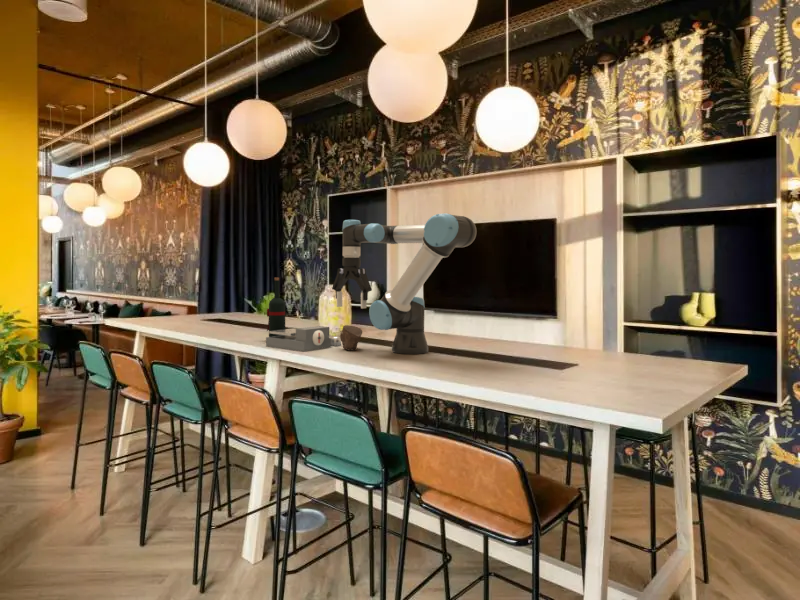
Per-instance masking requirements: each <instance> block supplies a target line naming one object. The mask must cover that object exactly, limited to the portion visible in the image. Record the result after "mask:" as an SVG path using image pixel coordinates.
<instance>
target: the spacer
mask: <svg viewBox="0 0 800 600" xmlns="http://www.w3.org/2000/svg"><path fill="white" fill-rule="evenodd" d="M330 338H331V347H341V346H342V341H341V339H340V335H335V336H334V335H331V337H330Z"/></svg>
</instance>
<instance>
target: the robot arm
mask: <svg viewBox="0 0 800 600" xmlns="http://www.w3.org/2000/svg"><path fill="white" fill-rule="evenodd" d="M341 231H342V266H343V268H342V267H341V268H337V271H336V276H335V279H334V281H333V284H332V287H331V290H333V291H335V299H336V307H337V308H341V307H343V287H344V286H346V284H347V282H348V281H349V280H354V281H355V282H356V284H357V285H358V287H359V288H360V290H361V292H360V309H362V310H363V309H367V301H368V299H369V295H368V294H369V292H371V291H372V287H371V283H370V280H369V278H368V275H367V269H366V268H360V267H361V244H362V243H366V244H367V243H369V244H370V243H376V244H390V245H396V244H397V245H398V244H422V246H421V247H420V249H419V250H418V252H417V253H416V255H415V256H414V258H413V259H412V261H410V263H409V265H408V266H407V268H406V269H405V270H404V272H403V274H402V276H401V277H400V278H399V279H398V281H397V282H396V284H395V286H394V287H393V289H392V290H387V291H386V292H385V293H384V295H383V296H382V298H381V299H377V300H374V301H373V302H371V304H370V306H369V310H368V311H369V312H368V313H369V314H368V315H369V319H370V322H371V324H372V325H373V327H374V328H376V329H377V330H381V331H384V330H385V331H388V330H394V329H396V331H395V332H396V333H395V336H394V339H393V342H392V345H391V351H392V353H395V354H402V355H403V354H404V355H419V354H427V353H429V346H428V342H427V338H426V335H425V309H426V307H425V300H424V298H423V297H418V296H417V294H418V292H419V291H420V290H421V288H422V287H423V286H424V284H425V282H427V280H428V279H429V277H430V276H431V275H432V273H433V272H434V270H435V269H436V267H437V266H438V265H439V263H440V262H441V260H443V258H444V259H445V258H448V257H450V255H451V254H452V252H453V251H454V249H456V248H465V247H468V246H470V245H471V244H472V243H473V242H474V241H475V239H476V237H477V232H478V231H477V227H476V224H475V222H474V221H473V220H472V219H471V218H469V217H467V216H464V215H463V216H462V215H455V214H450V213H445V212H444V213H437V214H434V215H432V216H431V217H430V218H429V219H428V220H427V221H425V223H422V224H406V225H405V224H404V225H403V224H402V225H383V224H380V223H374V222H372V223H365V224H361V220H358V219H345V220H343V222H342V229H341Z"/></svg>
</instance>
